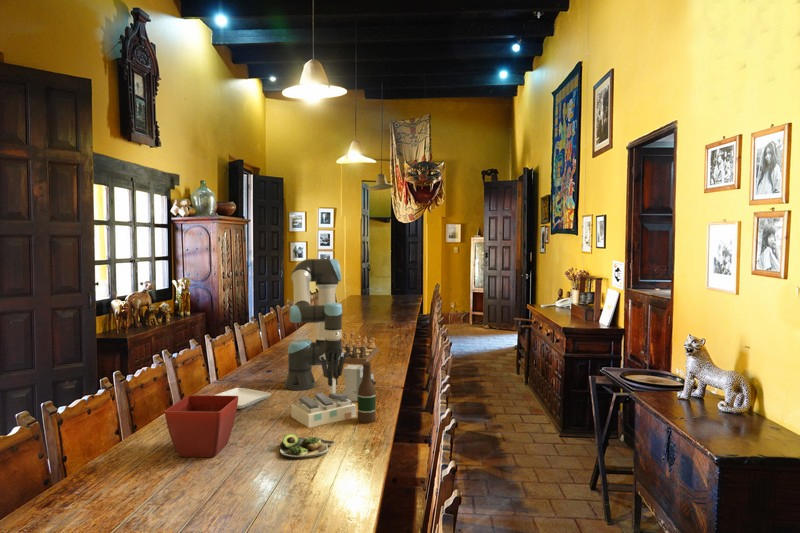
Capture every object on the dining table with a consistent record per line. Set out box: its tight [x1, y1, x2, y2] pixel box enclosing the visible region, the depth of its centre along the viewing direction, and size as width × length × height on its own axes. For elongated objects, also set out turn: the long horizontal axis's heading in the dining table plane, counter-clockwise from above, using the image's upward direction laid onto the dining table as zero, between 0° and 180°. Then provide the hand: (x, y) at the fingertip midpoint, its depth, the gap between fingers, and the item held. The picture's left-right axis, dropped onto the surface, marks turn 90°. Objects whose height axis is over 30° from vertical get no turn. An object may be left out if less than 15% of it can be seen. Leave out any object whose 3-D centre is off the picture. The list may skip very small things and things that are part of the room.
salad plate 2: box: [279, 433, 336, 460], centre depth 185 cm, size 19×18×5 cm
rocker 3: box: [328, 392, 347, 400], centre depth 223 cm, size 10×3×2 cm, turn 37°
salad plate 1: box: [215, 387, 272, 410], centre depth 239 cm, size 21×21×3 cm
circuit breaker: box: [342, 364, 377, 402], centre depth 244 cm, size 8×14×15 cm, turn 78°
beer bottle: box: [357, 361, 377, 424], centre depth 215 cm, size 8×8×24 cm
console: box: [290, 395, 357, 428], centre depth 219 cm, size 16×22×6 cm
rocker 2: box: [314, 391, 333, 406], centre depth 219 cm, size 10×3×2 cm, turn 37°
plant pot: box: [164, 394, 238, 458], centre depth 183 cm, size 19×19×17 cm
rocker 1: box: [299, 395, 318, 409], centre depth 215 cm, size 10×3×2 cm, turn 37°
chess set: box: [341, 329, 380, 365], centre depth 336 cm, size 40×40×15 cm
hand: (332, 392), depth 227 cm, fingers closed
